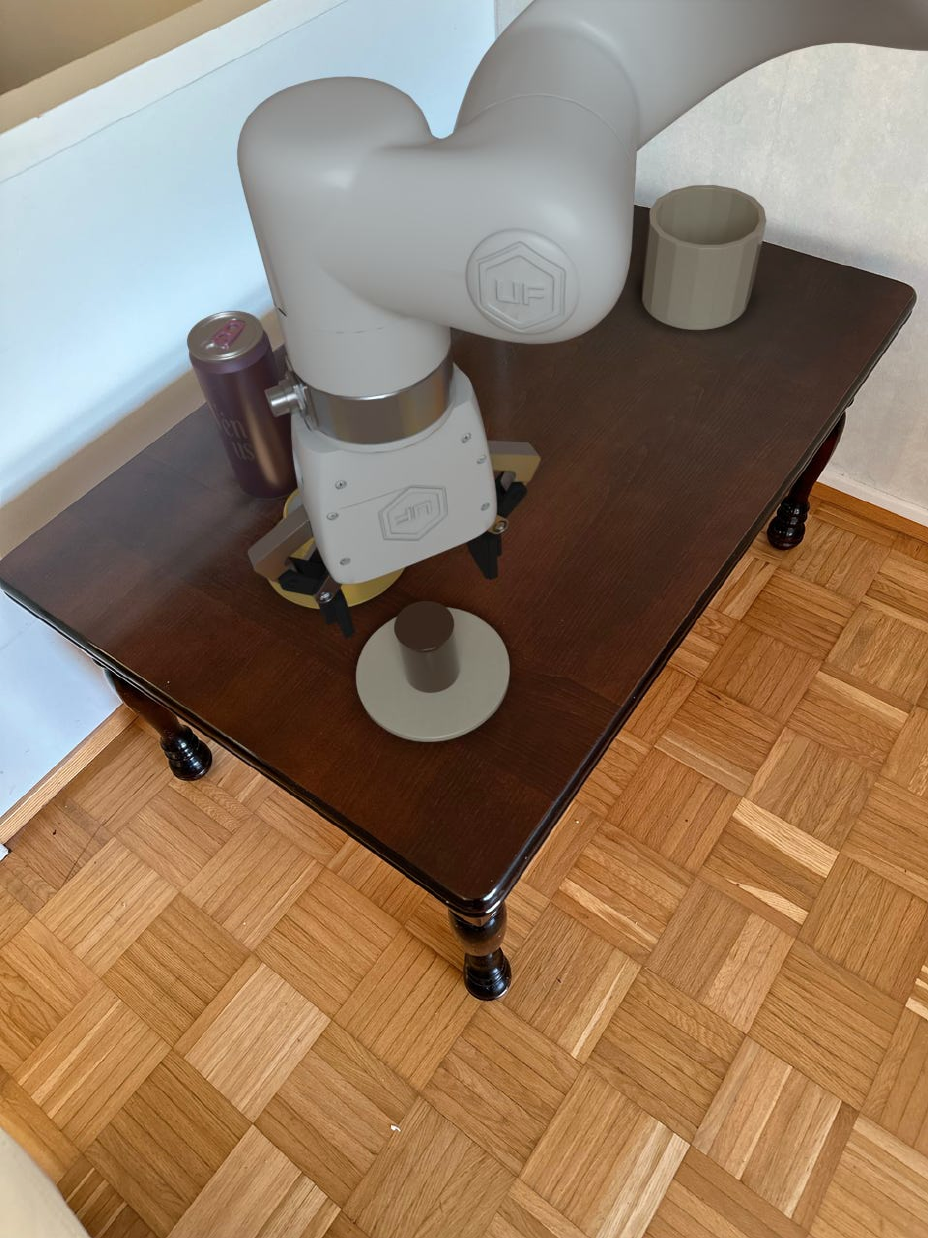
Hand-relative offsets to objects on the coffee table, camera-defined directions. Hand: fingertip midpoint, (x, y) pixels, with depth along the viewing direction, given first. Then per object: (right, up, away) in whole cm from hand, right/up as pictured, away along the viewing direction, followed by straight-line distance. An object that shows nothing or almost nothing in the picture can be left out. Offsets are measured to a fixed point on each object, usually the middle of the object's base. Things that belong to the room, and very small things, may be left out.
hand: (413, 591), depth 57 cm
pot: (+26, +30, +32) cm, 50 cm away
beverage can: (-13, +10, +21) cm, 27 cm away
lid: (+1, -6, +8) cm, 10 cm away
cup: (-7, +4, +16) cm, 18 cm away
